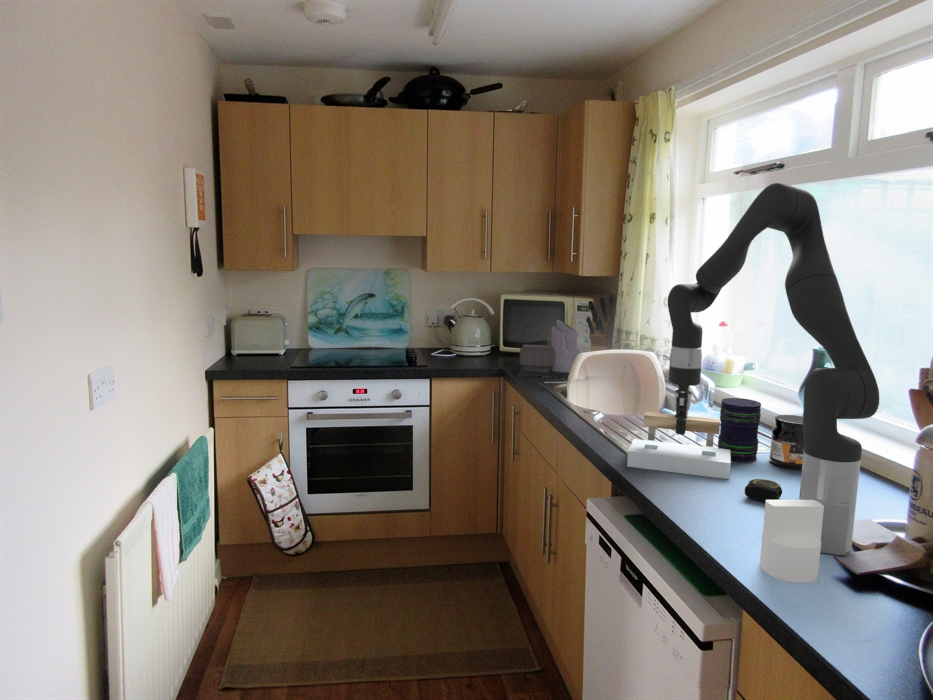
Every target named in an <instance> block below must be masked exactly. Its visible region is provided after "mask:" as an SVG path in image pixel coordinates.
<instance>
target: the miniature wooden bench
mask: <svg viewBox="0 0 933 700" xmlns="http://www.w3.org/2000/svg"><path fill="white" fill-rule="evenodd" d="M675 415H676V414H671V413H670V414H669V413H658V412H651V411H645V413H644V415H643V427H645V428H648V431H647V432H648V433H647V440H648V441H656V440H655V439H656V431H657V429H664V430H673V431H676V422H677V419H676V417H675ZM720 428H721V421H720V418H712V417H701V416H691V415H687V419H686V429H685V432H691V433H692V432H694V433H701V434H702V433H703V434H706V442H705V443H706V444H705V447H711V448H714V437H715V435H719V434H720Z"/></svg>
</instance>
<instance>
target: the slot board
mask: <svg viewBox="0 0 933 700" xmlns="http://www.w3.org/2000/svg"><path fill="white" fill-rule="evenodd" d="M731 463H732V461H731V458H730V450H729V449H720V448H718V447H707V446H700V445H691V444H683V443H682V444H681V443H674V442H665V441H658V440H657V441H656V440H654V441H653V440H648V439H647V440H646V439H638V438H637V439H636V438H633V440H632V441H631V444H630V446H629V447H628V450H627V465H626V467H630V468H636V469H637V468H638V469H643V470H644V469H645V470H651V471H652V470H653V471H661V472H669V473H678V474H684V475H691V474H692V475H691V476H693V475H694V476H701V477H707V478H716V479H722V480H723V479H725V480H730V477H731V476H730V475H731V467H732V466H731Z"/></svg>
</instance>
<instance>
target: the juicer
mask: <svg viewBox="0 0 933 700" xmlns="http://www.w3.org/2000/svg"><path fill="white" fill-rule="evenodd" d="M555 324H556V326H555V325H553V326H551V343H550V344H549V345H548V344H526V343H525V344H523V345H522V347H521V348H520V349H519V365H521V366H522V367H521V369H520V370H519V371H520V372H519V371H518V373H517V374H516V376H517V375H526V376H551V377H557V378H564V379H567V378H568V375H569V371H570V368H571V366H572V364H573V362H574V360H575V358H576V356H577V355H578V354H580V353H581V352H580V351H579V350H578V349H577V346H578V345H577V342H578V336H579V332H578V331H577V330H576V329H574V328H573V327H572V326H570V325H568V324H567V323H565V322H563V321H561V320H559V319H556V323H555Z"/></svg>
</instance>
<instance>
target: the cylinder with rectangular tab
mask: <svg viewBox="0 0 933 700" xmlns="http://www.w3.org/2000/svg"><path fill="white" fill-rule="evenodd" d="M764 502H765V504H764V512H763V513H764V516H763V527H762V531H761V532H762V533H761V546H760V556H759V568H760V569H761V570H762V571H763V572H764V573H765V574H767V575H769V576H771V577H772V578H775V579H777V580H781V581H785V582H789V583H796V584H806V583H807V584H808V583H812V582H815V581H817V579H818V578H819V570H820V569H819V568H820V560H821V559H820V558H821V552H820V550H821V532H822V522H823V512H824V506H823V505H822V504H821V503H820V502H818V501H816V500H799V499H779V500H766V501H764Z"/></svg>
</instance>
